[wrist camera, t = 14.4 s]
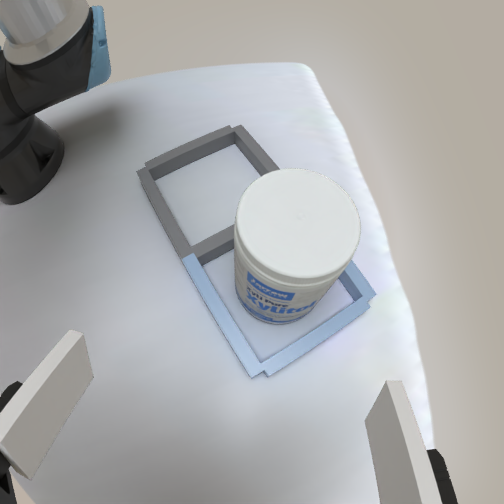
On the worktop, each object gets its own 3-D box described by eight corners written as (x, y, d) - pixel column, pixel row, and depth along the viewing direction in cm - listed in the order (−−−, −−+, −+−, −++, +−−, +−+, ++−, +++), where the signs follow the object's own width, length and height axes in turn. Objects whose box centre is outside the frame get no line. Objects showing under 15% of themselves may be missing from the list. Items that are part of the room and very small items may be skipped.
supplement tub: (241, 331, 34) (240, 290, 20) (230, 251, 37) (223, 171, 24) (328, 317, 34) (379, 268, 21) (310, 241, 38) (342, 161, 25)
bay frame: (139, 179, 42) (134, 167, 39) (238, 133, 45) (238, 121, 43) (254, 384, 31) (255, 384, 29) (372, 305, 35) (380, 299, 33)
